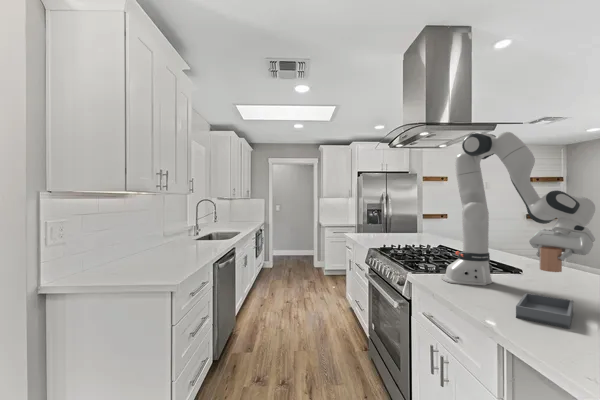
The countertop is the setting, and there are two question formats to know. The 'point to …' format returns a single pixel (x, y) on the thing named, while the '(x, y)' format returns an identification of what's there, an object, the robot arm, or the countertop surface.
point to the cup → (550, 259)
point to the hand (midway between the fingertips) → (549, 257)
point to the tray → (545, 310)
